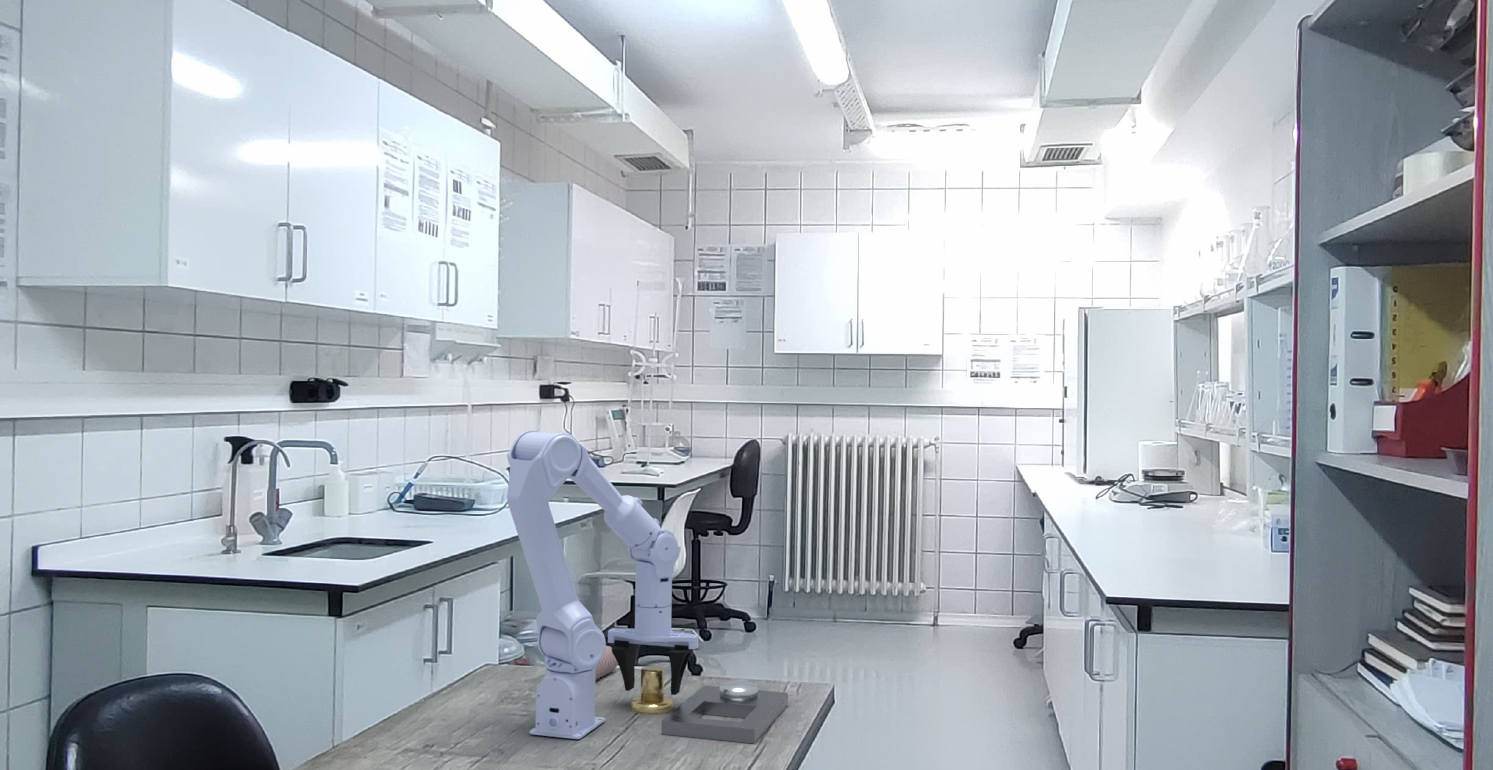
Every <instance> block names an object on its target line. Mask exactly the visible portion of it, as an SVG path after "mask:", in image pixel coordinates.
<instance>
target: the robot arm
mask: <svg viewBox="0 0 1493 770" xmlns="http://www.w3.org/2000/svg"><path fill="white" fill-rule="evenodd" d="M506 458H507V461H508V464H509V473H508V474H509V477H508V485H507V495H506V496H507V497H506V498H507V499H506V500H507V504H508V508H509V511H510V515H511V517H512V520H513V523H514V527H515V530H516V533H517V536H518V539H519V543H520V545H521V548H522V552H523V555H524V558H525V561H526V564H527V567H528V571H529V574H530V577H531V580H532V583H533V586H534V590H535V593H536V595H537V599H538V601H539V604H540V607H541V611H540V612H539V613H538V615H537V616H536V618H535V621H536V626H537V642H536V643H537V648H538V650H539V651H540V653H541V654H542V656H544V664H545V666H546V668H545V669H546V670H545V675H544V678H543V680H541V682H539V685H538V686H537V687H536V691H535V727H533V728H532V729H530V730H529V734H530V735H534V736H536V735H537V736H543V737H544V736H546V737H553V738H562V739H572V740H573V739H574V740H581V739H582V738H583V737H585V736H586V735H588V733H590V732H591V731H593V730H594V729H596V728H597V727H599V726H600V725H601V724H603V723H605V721H606V718H605V717H601V716H600V717H599V716H596V680H595V669H597V664H598V663H599V662H600V660H601V659H602V657H603V655H604V652H605V647H606V646H607V644H606V643H608V644H609V643H610V644H613V646H611V647H612V653H613V655H614V657H615V658H616V660H617V662H618V664H617V666H618V667H619V670H620V672H621V677H622V679H623V685H624V690H625V691H628V692H629V691H631V690H632V689H634V688H635V680H636V678H635V666H636V665H635V663H636V653H637V648H638V645H644V646H646V645H647V646H660V647H670V648H671V647H672V649H670V651H668V655H669V663H670V695H671V696H672V695H673V696H676V695H678V694H679V693H680V690H681V685H682V680H683V676H684V674H685V670H686V668H687V665H688V663H689V661H690V658H691V656H692V654H693V653H694V650H696V649H697V648H699V639H700V638H699V634H692V633H689V632H688V633H687V632H682V631H677V630H672V605H673V604H672V603H673V601H672V598H673V596H672V595H673V593H672V591H673V589H672V588H673V575H674V574H675V565H676V562H677V560H678V559H679V557H680V554H681V550H682V549H681V548H682V547H681V546H679V544H678V541H677V538H676V536H675V534H674V533H673V532H671V531H670V530H667V529H662V527H661V526H660V521H659V519H657V518H653V517H652V516H651V515H650V514H649V513H648V512H647V510H646V509H645V508H644V507H643V506H642V505H643V503H644V502H643V501H642V500H641V499H640V498H639V497H635V496H632V495H626V494H624V495H621V493H620V492H619V491H618V490H617V489H616V487H615V486H614V485H613V483H611V480H609V479H608V478H607V476H606V475H605V474H604V473H603V471H602V470H601V469H600V468H599V467H598V466H597V464H596V463H595V462H594V460H593V459H592V458H591V456H590V454H589V451H588V449H587V448H586V447H585V446H584V445H582V444H580V442H579V441H578V439H577V438H576V437H575V436H574V435H572V434H570V433H568V432H557V433H555V432H554V433H553V432H543V431H542V432H541V431H538V430H527V431H524V432H522V433H520V434H519V435H518V436H517V437H516V439H515V440H514V442H513V443H512V445H511V447H510V449H509V450H508V453H506ZM568 479H569V480H571V481H572V482H573V483H575V485H577V486H578V487H579V488H580V489H581V490H582V491H583V492H584V493H585V494H586V495H587V496H588V497H589V498H591V499H592V500H593V501H594V503H596V504H597V505H598V506H599V507H601V509H602V510H604V514H603V520H604V522H605V523H604V524H606V525H607V526H608V527H609V528H610V529H611V530H612V531H613V532H614V533H615V535H617V536H618V537H619V539H621V541H622V542H623V543H624V544H625V545H626V546H627V554H628V556H629V558H630V559H632V560H634V561H635V596H634V599H635V601H634V628H616V627H615V628H614V627H613V628H611V629H608V630H607V642H606V637H605V635H604V632H603V631H602V630H601V629H600V628H599V627H598V626H597V625H596V623H595V621H594V617H593V615H592V613H590V611H589V610H588V609H587V608H586V607H585V606H584V605H583V604H582V603H581V601H580V600H579V598H578V594H577V591H576V589H575V588H576V587H575V585H574V581H573V577H572V575H571V571H570V569H569V565H568V563H567V559H566V556H565V552H564V549H563V546H562V543H561V540H560V537H559V534H558V530H557V526H556V524H555V521H554V516H553V515H552V511H551V507H550V504H549V503H550V500H551V499H552V497H553V495H554V494H555V493H556V492H557V491H558V490H559V489H560V488H561V487H562V485H564V483H565V482H566V481H567V480H568Z"/></svg>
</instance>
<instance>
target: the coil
mask: <svg viewBox="0 0 1493 770" xmlns="http://www.w3.org/2000/svg"><path fill="white" fill-rule="evenodd" d="M612 647H613V646H610V645H609V646H608V645H606V647H605V652H604V655H603V657H602V659H601V660H600V662H599V663H598V664H597V669H595V681H597V680H599V679H600V677H601V678H602V677H604V676H606V675H608V674H610V673H612V672H614V671H615V669H616V668H617V666H618V662H617V660H616V658H615V657H614V655H613V653H612Z"/></svg>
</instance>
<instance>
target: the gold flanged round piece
mask: <svg viewBox="0 0 1493 770" xmlns="http://www.w3.org/2000/svg"><path fill="white" fill-rule="evenodd" d="M664 692H665V668H664V667H662V666H658V665H657V666H655V665H650V666H649V665H648V666H644V667H642V668H641V669H640V696H636V697H633V698H632V700H631V703H630V705H631V711H632V712H634V713H639V714H644V715H660V714H659V713H661V714H665V713H668V712H672V711H673V708H674V700H673V698H671V697H670V696H665V693H664Z"/></svg>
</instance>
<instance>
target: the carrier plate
mask: <svg viewBox="0 0 1493 770" xmlns="http://www.w3.org/2000/svg"><path fill="white" fill-rule="evenodd" d="M788 706H789V692H785V691H782V692H781V691H773V690H771V691H770V690H762V689H761V690H760V689H759V686H758V684H757V683H754V682H751V681H745V680H731V681H726V682H723V683H720V684H719V686H716V685H707V684H706V685H705V684H704V685H703V686H702V687H700V688H699V689H698V690H697V691H695V693H693V694H692V695H690V696H689V697H688V698H687V699H686V700H685V701H683V702H682V703H681V704H680V705H678V706H677V707H676V708H675V709H674V710H671V711H670V713H669V714H667V715H666V716H665V717H664V718H663V719H662V720H661V735H667V736H676V737H687V738H695V739H703V740H704V739H706V740H713V741H714V740H716V741H725V742H736V743H745V744H756V742H757V741H758V740H759V739H760V738H761V737H762V735H763V734H764V733H765V732H766V731H767V730H768V729H769V728H770V726H771V725H772V724H773V723H774V722H775V720H777V718H778V717H779V716H781V714H782V713H783V712H784V711H785V709H786V708H787V707H788ZM704 715H708V716H719V717H726V718H727V717H730V718H740V719H743V720H742V721H732V720H724V719H714V718H713V719H711V718H704V717H703V718H701V717H702V716H704Z"/></svg>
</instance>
